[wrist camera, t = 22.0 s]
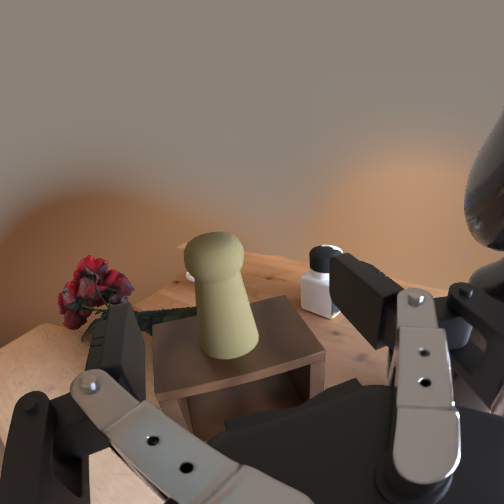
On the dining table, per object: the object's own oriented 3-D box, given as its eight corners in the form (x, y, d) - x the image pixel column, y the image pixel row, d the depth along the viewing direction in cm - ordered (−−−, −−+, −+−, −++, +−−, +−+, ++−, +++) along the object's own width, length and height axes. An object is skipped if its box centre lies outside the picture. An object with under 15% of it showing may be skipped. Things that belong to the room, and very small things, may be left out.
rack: (289, 380, 44) (284, 294, 38) (320, 435, 34) (325, 350, 28) (183, 407, 41) (152, 324, 35) (194, 470, 31) (154, 393, 25)
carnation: (223, 378, 56) (84, 342, 65) (240, 285, 63) (103, 269, 72) (190, 373, 42) (37, 326, 51) (215, 252, 49) (62, 241, 58)
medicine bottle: (331, 320, 56) (332, 261, 51) (300, 308, 61) (298, 252, 56) (350, 302, 61) (352, 246, 56) (320, 292, 65) (320, 238, 60)
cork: (264, 323, 33) (253, 224, 29) (250, 362, 28) (233, 252, 23) (211, 319, 35) (192, 225, 30) (190, 355, 30) (162, 252, 25)
